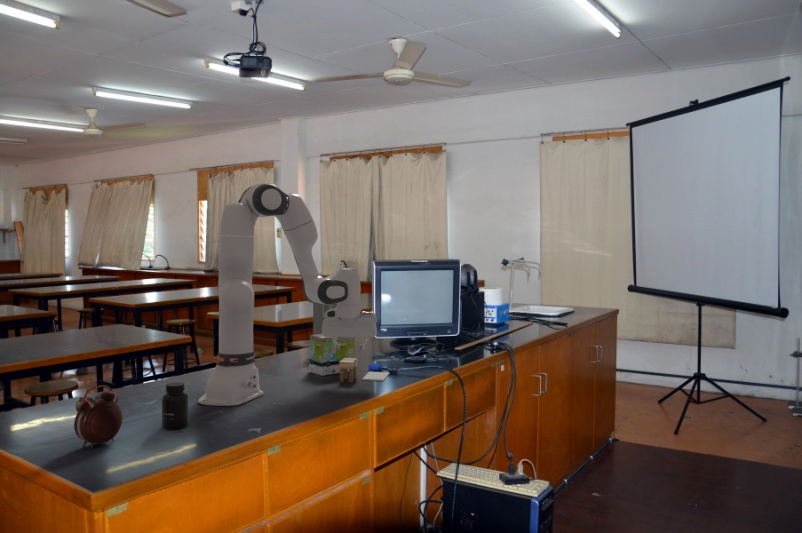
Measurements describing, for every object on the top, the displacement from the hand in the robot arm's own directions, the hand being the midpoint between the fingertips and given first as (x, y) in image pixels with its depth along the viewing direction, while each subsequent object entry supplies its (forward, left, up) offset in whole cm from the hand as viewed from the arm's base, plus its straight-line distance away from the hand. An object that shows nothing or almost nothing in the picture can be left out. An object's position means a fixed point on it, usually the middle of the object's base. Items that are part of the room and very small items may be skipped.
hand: (349, 349), depth 224 cm
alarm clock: (-80, +44, -12) cm, 92 cm away
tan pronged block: (0, 0, -12) cm, 12 cm away
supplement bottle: (-63, +33, -12) cm, 72 cm away
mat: (+7, -9, -12) cm, 16 cm away
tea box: (+13, +10, -12) cm, 20 cm away
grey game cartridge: (+50, +23, -12) cm, 56 cm away
